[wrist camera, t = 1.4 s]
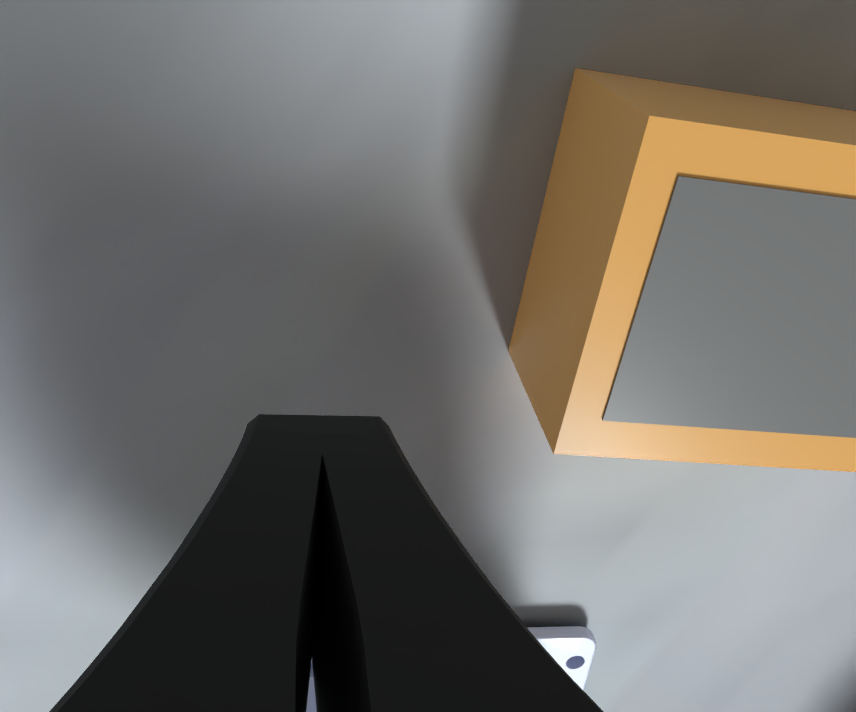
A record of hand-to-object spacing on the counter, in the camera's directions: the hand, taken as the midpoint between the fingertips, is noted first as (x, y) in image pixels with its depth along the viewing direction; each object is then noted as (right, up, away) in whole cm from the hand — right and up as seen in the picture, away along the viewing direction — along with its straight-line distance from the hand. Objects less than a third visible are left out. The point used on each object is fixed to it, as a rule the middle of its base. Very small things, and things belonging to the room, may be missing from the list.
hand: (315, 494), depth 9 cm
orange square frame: (+7, +4, +9) cm, 12 cm away
